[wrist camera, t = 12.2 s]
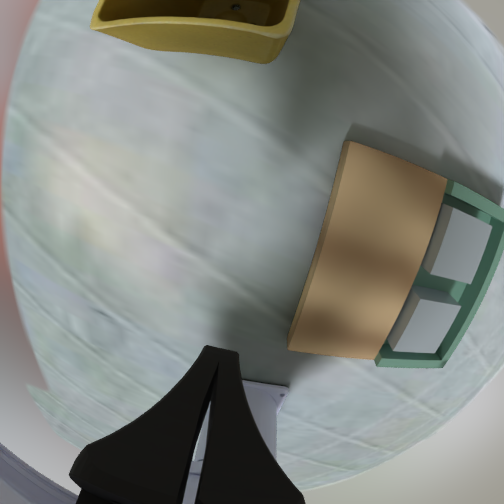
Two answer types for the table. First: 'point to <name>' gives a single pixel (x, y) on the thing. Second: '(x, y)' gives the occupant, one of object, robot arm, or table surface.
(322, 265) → the board
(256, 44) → the flower pot
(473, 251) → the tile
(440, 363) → the tray
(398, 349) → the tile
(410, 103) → the table surface
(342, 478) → the table surface
